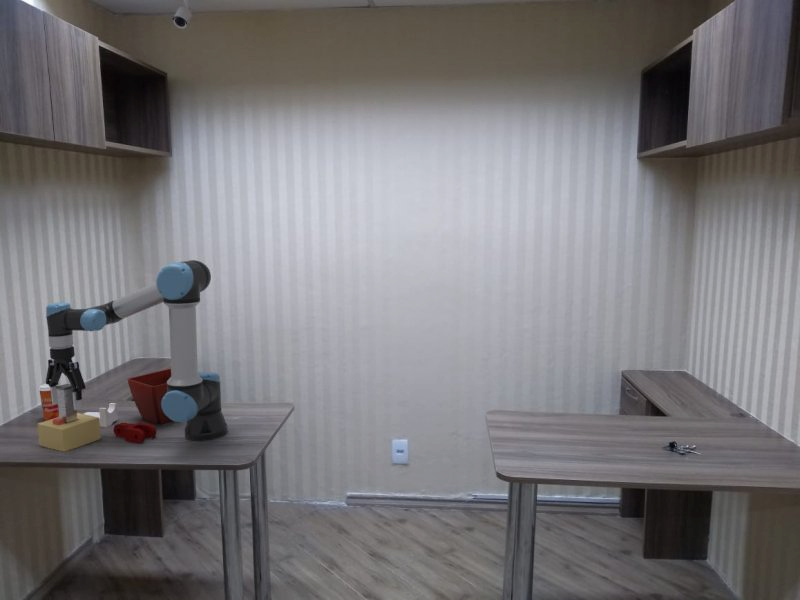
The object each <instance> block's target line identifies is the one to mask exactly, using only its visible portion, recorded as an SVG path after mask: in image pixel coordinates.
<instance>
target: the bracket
mask: <svg viewBox="0 0 800 600" xmlns="http://www.w3.org/2000/svg"><path fill="white" fill-rule="evenodd" d="M83 414H85V415H90V416H94V417H99V423H100V428H108V427H110V426H112V425H113V423H114V422H116V421H118V420H119V415H118V405H117V403H116V402H115V403H114V402H111V403H109V404H108V408H107V407H99V409H98V411H95V412H94V411H87V412H84V413H83Z"/></svg>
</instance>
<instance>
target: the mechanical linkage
mask: <svg viewBox="0 0 800 600" xmlns="http://www.w3.org/2000/svg"><path fill="white" fill-rule="evenodd" d="M113 433H114V435H115V436H116V437H117V438H123V439H124V441H125V442H128V443H133V444H141V443H143V442H144V441H145V440H146V439H153V438H154V437H156V436H157V433H158V432H157V428H156V426H155V425H154V424H152V423H147V422H140V421H139V422H136V423H131V422H130V423H129V422H123V421H122V422H120V423H119V422H118V423H117V424H115V425H114V427H113Z"/></svg>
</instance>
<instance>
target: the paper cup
mask: <svg viewBox="0 0 800 600" xmlns="http://www.w3.org/2000/svg"><path fill="white" fill-rule="evenodd" d="M56 386H60V384H59V385H56ZM38 391H39V396H40V403H41V408H42V414H43V419H44V421H48V420H51V419H54V418H57V417H59V408H58V404H56V405H52V397H51V388H50V387H49V385H48V384H46V383H43V384H40V385H39V387H38Z"/></svg>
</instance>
